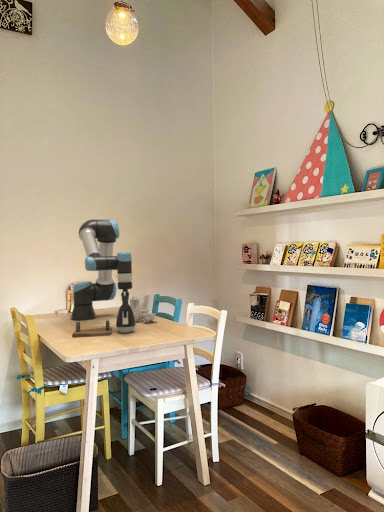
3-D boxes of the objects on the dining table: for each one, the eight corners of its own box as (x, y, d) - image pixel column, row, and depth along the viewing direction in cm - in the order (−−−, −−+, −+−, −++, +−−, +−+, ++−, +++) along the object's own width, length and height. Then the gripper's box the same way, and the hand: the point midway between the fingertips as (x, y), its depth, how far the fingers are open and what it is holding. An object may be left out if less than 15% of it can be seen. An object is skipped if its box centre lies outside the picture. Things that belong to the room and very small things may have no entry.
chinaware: (160, 326, 235) (162, 297, 236) (132, 325, 228) (135, 296, 229) (145, 319, 261) (147, 293, 261) (120, 318, 254) (122, 292, 254)
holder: (76, 332, 214) (76, 320, 214) (112, 330, 217) (112, 318, 216) (72, 337, 201) (71, 324, 201) (110, 335, 204) (110, 322, 204)
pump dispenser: (119, 335, 204) (118, 305, 204) (113, 331, 213) (113, 303, 213) (138, 332, 209) (138, 303, 209) (132, 329, 218) (131, 301, 218)
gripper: (118, 280, 223) (120, 318, 223) (116, 283, 198) (117, 326, 198) (132, 279, 223) (133, 317, 224) (131, 282, 199) (132, 325, 199)
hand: (125, 321), depth 211 cm, fingers open, 13 cm apart
